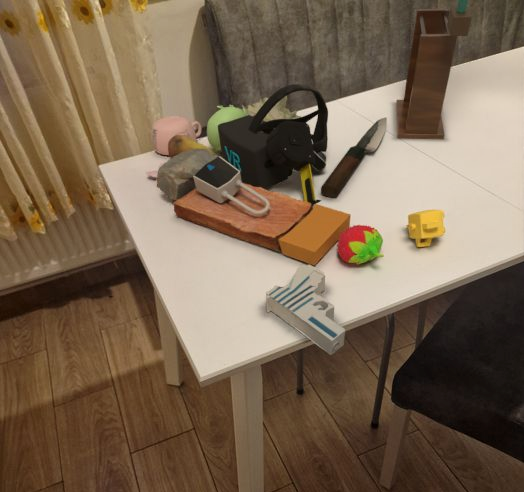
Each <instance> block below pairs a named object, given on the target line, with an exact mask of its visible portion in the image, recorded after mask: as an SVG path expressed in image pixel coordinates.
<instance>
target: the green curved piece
mask: <svg viewBox="0 0 524 492" xmlns="http://www.w3.org/2000/svg"><path fill="white" fill-rule="evenodd" d="M216 107H217V108H218V110H217V111H216V112H215V113H214V114H213V115H211V117H210V118H209V119H208V120H207V125H206V137H207V141H208V143H209V145H210V146H211V148H213V149H214V150H215V151H217V152H221V145H220V139H219V132H218V125H219V124H221V123H225V122H229V121H232V120H235V119H238V118H241V117H244V116H247V115H249V113H248V112H247V110H246V109H247V108H246V109H244V108H243V107H242V108H239V107H235V106H234V105H233V104H229V105H228V106H226V107H224V106H223V105H219V104H218V105H217V106H216Z"/></svg>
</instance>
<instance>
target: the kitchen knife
mask: <svg viewBox="0 0 524 492" xmlns="http://www.w3.org/2000/svg"><path fill="white" fill-rule="evenodd" d="M387 122H388V117H382V118H380V119H377V120H376V121H375V122H374V123H373V124H372V125H371V127H369V129H367V130H366V132H365V133H364V134H363V135H362V137H361V138H360V139H359V140H358V142H357V144H355V145H353V146H351V147H349V149H348V150H347V151H346V153H345V154H344V156H343V157H342V158H341V160H340V161H339V162H338V164H337V165H336V166H335V167H334V170H333V171H332V172H331V173H330V175H329V176H328V177H327V179H326V180H325V181H324V183H323V184H322V185H321V187H320V193H321V194H322V195H324V196H325V197H328V198H335V197H337V196H338V195H339V194H340V192H341V191H342V189H343V188H344V186H345V185H346V183H348V181H349V179H350V177H351V176H352V174H353V173H354V172H355V170H356V169H357V167H358V166H359V164H360V163H361V161H362V160H363V159H364V157H365V155H366V153H368V152H369V153H370V152H372V153H373V152H376V150H377V149H378V147H379V145H380V144H381V142H382V139H383V137H384V135H385V132H386V128H387Z"/></svg>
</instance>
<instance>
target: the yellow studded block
mask: <svg viewBox="0 0 524 492" xmlns="http://www.w3.org/2000/svg"><path fill="white" fill-rule="evenodd" d="M445 216H446V215H445V211H444V210H442V209H426V210H422V211H417V212H414V213H410V214H408V215H407V220H408V221H407V222H408V223H407V224H406V229H408V237H409V238H410V239H415V244H416V248H422V247H430V246H431V243H432V241H433V238H439V237H443V236H444V234H445V233H446V227H445V226H444V218H445ZM421 239H423V240H424V241H421Z"/></svg>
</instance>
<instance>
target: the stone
mask: <svg viewBox="0 0 524 492" xmlns="http://www.w3.org/2000/svg"><path fill="white" fill-rule="evenodd" d="M217 157H218V156H217V155H213V154H212V153H211V152H209V151H208V150H207V149H192V150H189V151H185V152H182V153H180V154H178V155H176V156H174V157H173V158H171V157H170V159H169V160H167V161H165V163H164V162H163V163H164V164H163V165H162V166H161V167H160V168H159V167H158V170H157V172H158V173H157V178H156V179H157V183H156V184H157V187H158V188H159V190H160V191H161V192H163V194H165V195H166V196H167V197H168V198H169V199H170V200H173V201H176V200H178V199H181V198H182V197H184V196H185V195H187V194H188V193H189V192H191V191H193V190H194V189H195V188H196V186H195V182H194V178H193V176H194V175H195V174H196V173H197V172H198V171H199V170H200V169H201V168H202V167H203V166H204V165H206V164H207V163H209V162H210V161H212V160H214V159H216V158H217Z"/></svg>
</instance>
